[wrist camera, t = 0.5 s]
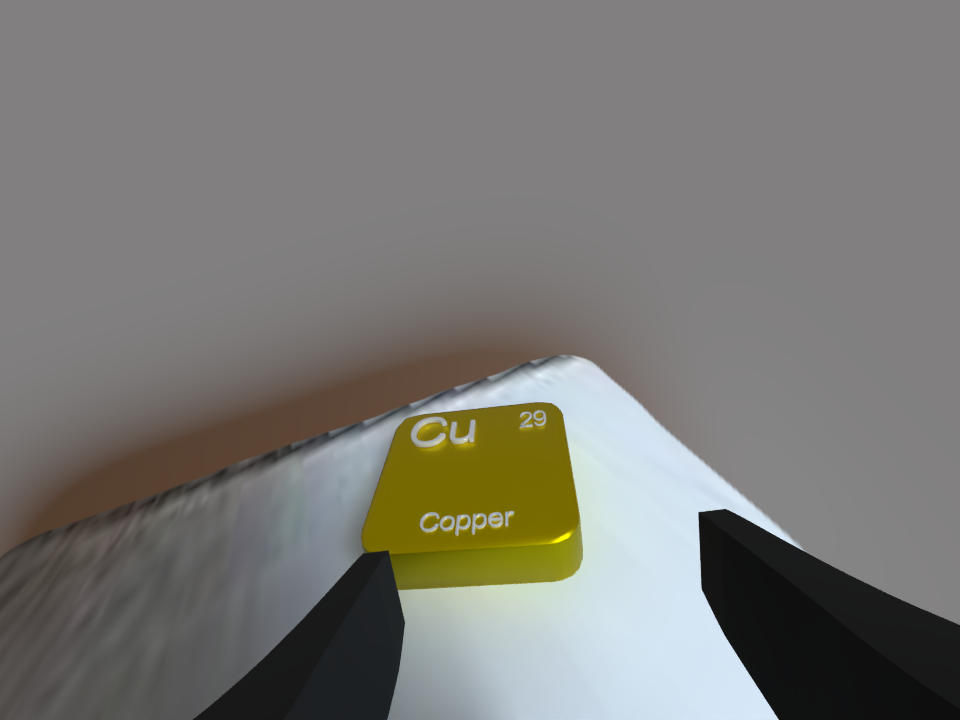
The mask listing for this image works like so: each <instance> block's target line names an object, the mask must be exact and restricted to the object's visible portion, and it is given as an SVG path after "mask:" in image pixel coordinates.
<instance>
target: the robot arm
mask: <svg viewBox="0 0 960 720" xmlns="http://www.w3.org/2000/svg"><path fill="white" fill-rule="evenodd" d="M698 513H699V537H700V561H701V585H702V591H703V593H704V595H705V597H706V599H707V601H708V603H709V605H710V607H711V609H712V611H713V613H714V615H715V617H716V619H717V621H718V623H719V625H720V627H721V629H722V631H723V633H724V635H725V636H726V638H727V640H728V641H729V643H730V645H731V646H732V648H733V649H734V651H735V652H736V654H737V656H738V657H739V659H740V660H741V662H742V663H743V665H744V667H745V668H746V670H747V671H748V673H749V674H750V676H751V677H752V679H753V681H754V682H755V684H756V685H757V687H758V688H759V690H760V691H761V693H762V694H763V696H764V698H765V699H766V701H767V702H768V704H769V705H770V707H771V708H772V710H773V711H774V713H775V715H776V716H777V718H778V719H779V720H960V625H958V624H956V623H953V622H951V621H949V620H947V619H944V618H942V617H939V616H937V615H935V614H932V613H930V612H928V611H925V610H923V609H920V608H918V607H916V606H914V605H911V604H909V603H907V602H904V601H902V600H900V599H898V598H896V597H894V596H891V595H889V594H887V593H885V592H883V591H881V590H879V589H877V588H875V587H873V586H871V585H869V584H867V583H864V582H862V581H860V580H858V579H856V578H854V577H852V576H850V575H848V574H846V573H844V572H842V571H840V570H838V569H836V568H834V567H832V566H830V565H829V564H827V563H825V562H823V561H821V560H819V559H817V558H815V557H813V556H812V555H810V554H808V553H806V552H804V551H802V550H800V549H799V548H797V547H795V546H793V545H791V544H789V543H788V542H786V541H784V540H782V539H780V538H779V537H777V536H775V535H773V534H771V533H770V532H768V531H766V530H764V529H763V528H761V527H759V526H757V525H755V524H753V523H752V522H750V521H748V520H746V519H744V518H743V517H741V516H739V515H737V514H735V513H733V512H731V511H729V510H727V509H722V510H714V511H705V512H698ZM404 626H405V621H404V617H403V612H402V608H401V603H400V599H399V594H398V590H397V586H396V581H395V577H394V572H393V568H392V564H391V559H390V555H389V550H387V551H379V552H371V553H363V554H362V555H361V556H360V557H359V558H358V559H357V560H356V562H355V563H354V564H353V565H352V566H351V567H350V568H349V569H348V570H347V571H346V573H345V574H344V575H343V576H342V577H341V578H340V579H339V580H338V582H337V583H336V584H335V585H334V586H333V587H332V588H331V589H330V590H329V592H328V593H327V594H326V595H325V596H324V597H323V598H322V599H321V600H320V601H319V602H318V603H317V605H316V606H315V607H314V608H313V609H312V610H311V611H310V612H309V613H308V614H307V615H306V617H305V618H304V619H303V620H302V621H301V622H300V623H299V624H298V625H297V626H296V627H295V628H294V629H293V630H292V631H291V632H290V633H289V634H288V635H287V636H286V637H285V638H284V639H283V640H282V641H281V642H280V643H279V644H278V645H277V646H276V647H275V648H274V649H273V650H272V651H271V652H270V653H269V654H268V655H267V656H266V657H265V658H264V659H263V660H262V661H261V662H259V663H258V664H257V665H256V666H255V667H254V668H253V669H252V670H251V671H250V672H249V673H248V674H246V675H245V676H244V677H243V678H242V679H241V680H240V681H239V682H237V683H236V684H235V685H234V686H233V687H232V688H230V689H229V690H228V691H227V692H226V693H225V694H224V695H222V696H221V697H220V698H219V699H218V700H217V701H215V702H214V703H213V704H212V705H211V706H209V707H208V708H207V709H206V710H205V711H203V712H202V713H201V714H199V715H198V716H197V717H196V718H194V719H193V720H387V719H388V715H389V710H390V706H391V702H392V698H393V694H394V689H395V685H396V681H397V676H398V672H399V666H400V659H401V651H402V643H403V635H404Z"/></svg>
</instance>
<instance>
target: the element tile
mask: <svg viewBox="0 0 960 720" xmlns="http://www.w3.org/2000/svg"><path fill="white" fill-rule="evenodd" d="M361 539H362V546H363V549H364V551H365V553H371V552H379V551H387V550H389V555H390V559H391V564H392V568H393V572H394V577H395V581H396V586H397V590H410V589H429V588H447V587H466V586H485V585H503V584H522V583H541V582H556V581H560V580H564V579H566V578H568V577H570V576H573V575H574V574H575V572H576V571H577V570H578V569H579V568H580V565H581V562H582V559H583V545H582V534H581V523H580V513H579V507H578V502H577V496H576V490H575V484H574V478H573V472H572V466H571V460H570V454H569V448H568V442H567V436H566V430H565V425H564V419H563V414H562V412H561V410H560V409H559V408H558V407H557V406H555V405H553V404H552V403H544V402H535V403H526V404H517V405H507V406H498V407H489V408H479V409H470V410H461V411H451V412H442V413H433V414H423V415H418V416H414V417H410V418H407V419H405V420H404V421H403V422H402V424H401V425H400V426H399V427H398V428H397V430H396V432H395V435H394V438H393V441H392V444H391V446H390V449H389V452H388V455H387V458H386V461H385V464H384V467H383V470H382V473H381V476H380V479H379V482H378V485H377V488H376V491H375V494H374V497H373V500H372V503H371V506H370V509H369V511H368V514H367V517H366V520H365V523H364V526H363V529H362V535H361Z"/></svg>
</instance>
